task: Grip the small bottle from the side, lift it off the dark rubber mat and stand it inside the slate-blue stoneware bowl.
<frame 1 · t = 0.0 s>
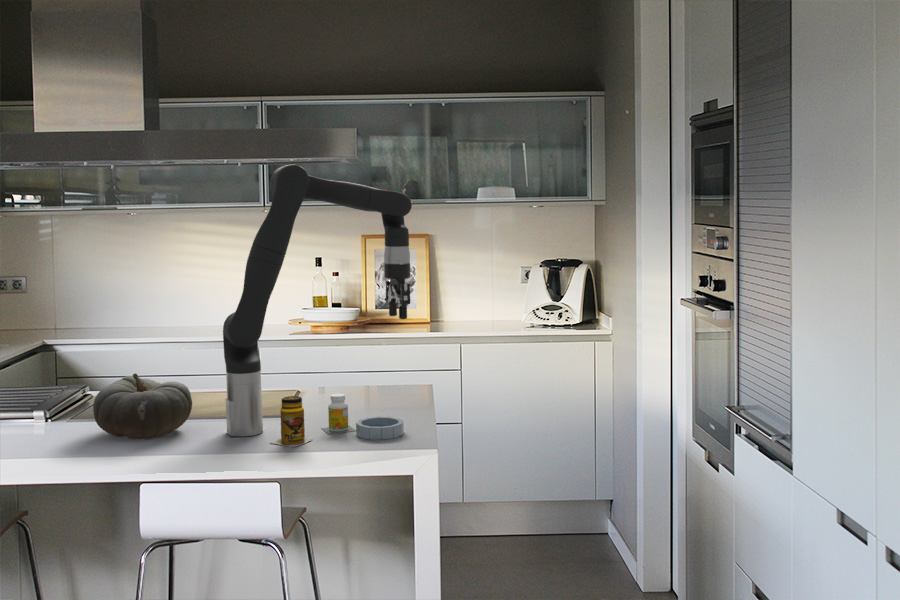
hand: (397, 317, 251), 29 cm above the table, fingers open, 8 cm apart
supplement bottle: (338, 430, 238), resting on mat
gourd: (146, 434, 237), on the table
condiment: (290, 443, 225), on the table
mat: (338, 429, 238), on the table
bowl: (380, 433, 233), on the table
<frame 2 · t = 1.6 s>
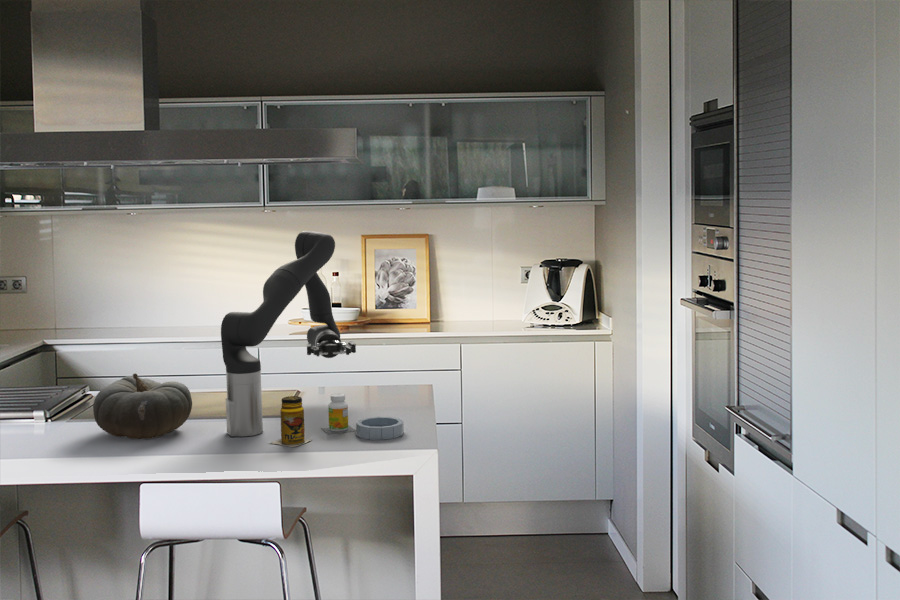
hand: (333, 352, 246), 20 cm above the table, fingers open, 8 cm apart
nothing on the table moved.
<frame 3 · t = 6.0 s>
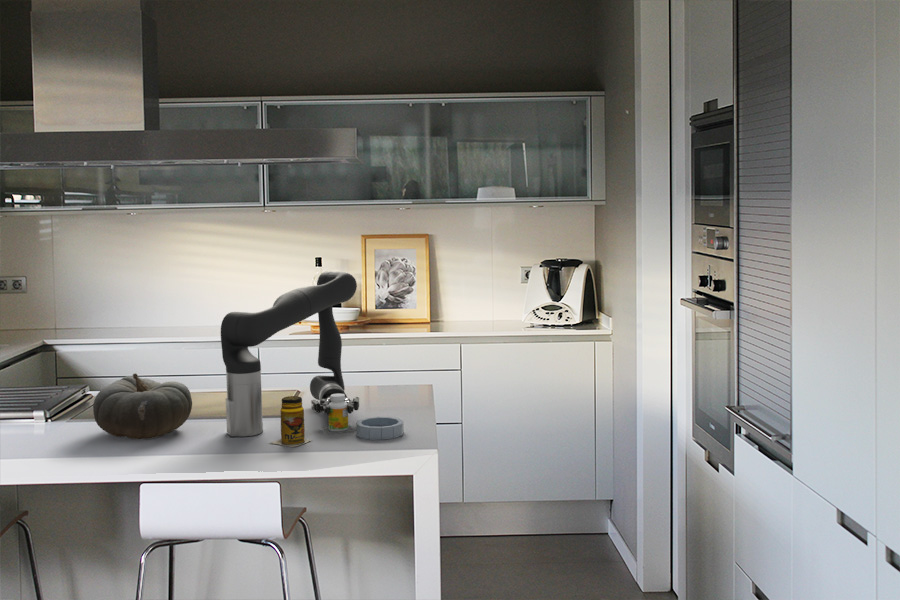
hand: (339, 410, 235), 6 cm above the table, fingers closed on supplement bottle, 5 cm apart
supplement bottle: (338, 430, 238), resting on mat, touching gripper
everything else where it was.
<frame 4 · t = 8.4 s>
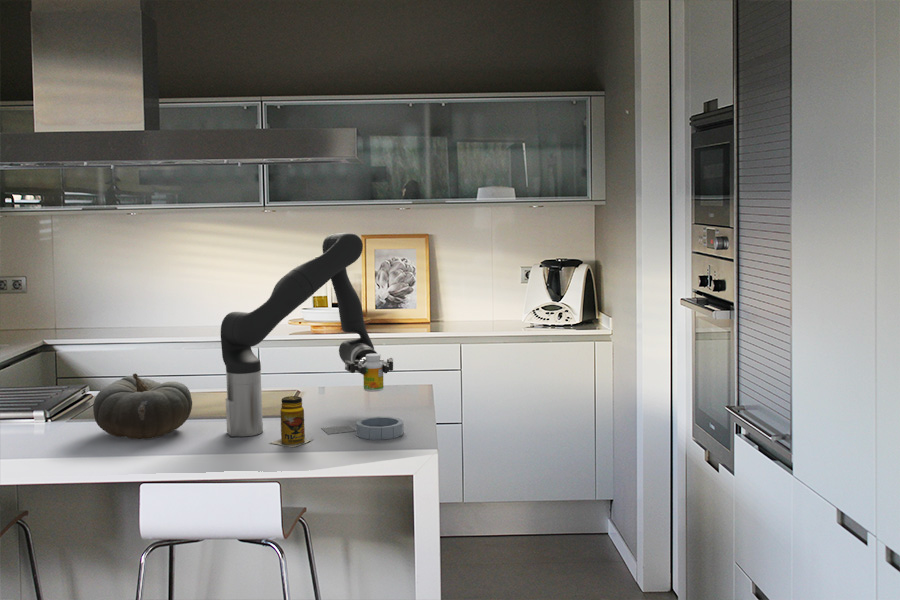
hand: (375, 370, 230), 18 cm above the table, fingers closed on supplement bottle, 5 cm apart
supplement bottle: (373, 390, 233), point 12 cm above the table, touching gripper
everything else where it was.
when the fingers open (8 cm above the table, at t = 10.9 s): supplement bottle drops 1 cm, resting on bowl.
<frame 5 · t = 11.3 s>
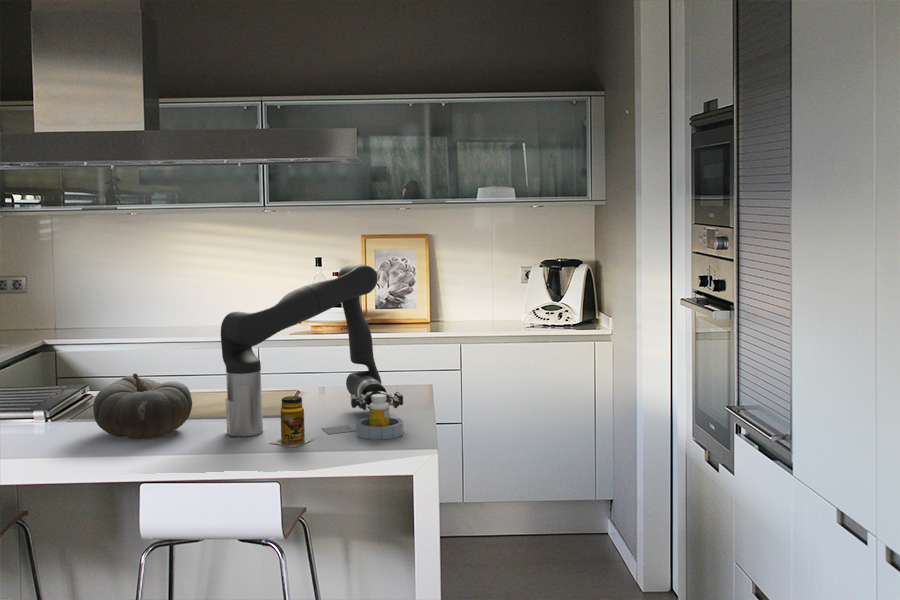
hand: (380, 405, 230), 8 cm above the table, fingers open, 8 cm apart
supplement bottle: (379, 431, 233), point 1 cm above the table, touching bowl
everything else where it was.
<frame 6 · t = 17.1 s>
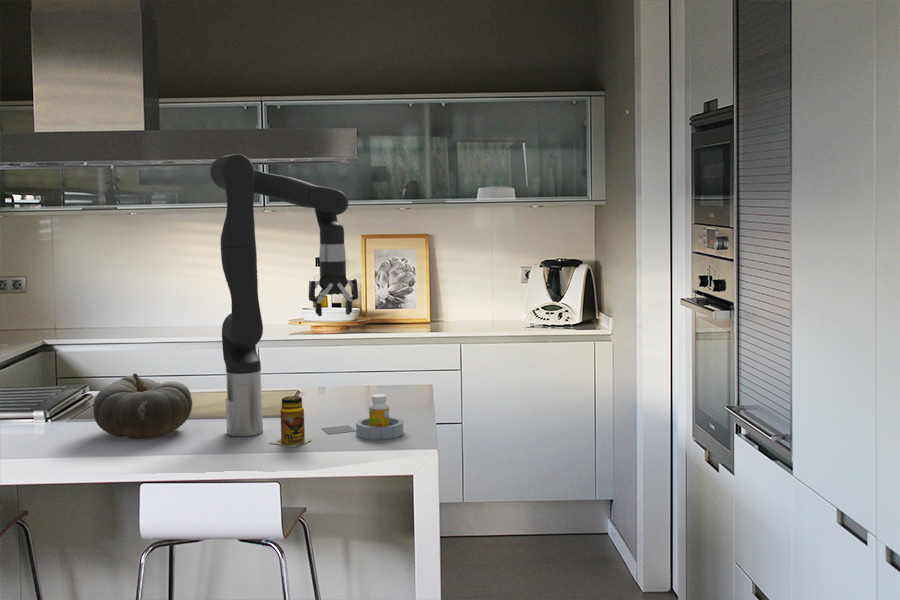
hand: (334, 315, 251), 30 cm above the table, fingers open, 8 cm apart
nothing on the table moved.
at the end: supplement bottle 0.2 cm from the bowl (horizontally); supplement bottle tilted 0°; the gripper is holding nothing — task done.
